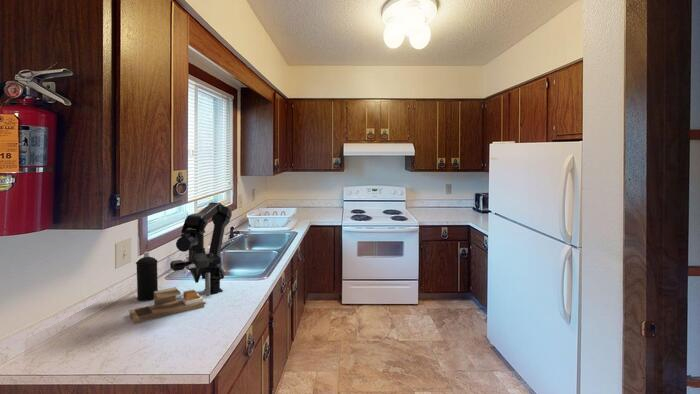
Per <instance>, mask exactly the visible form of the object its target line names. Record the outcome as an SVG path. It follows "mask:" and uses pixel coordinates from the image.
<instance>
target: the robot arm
mask: <svg viewBox="0 0 700 394" xmlns="http://www.w3.org/2000/svg"><path fill="white" fill-rule="evenodd" d="M232 213H233V212H232V211H231V210H230V208H229V207H227V206H225V205H223V204H222V203H221V202H217V201H216V202H214V201H213V202H212V201H211V202H209V203H208V205H207V206H206V207H204V208H202V209H201V210H200V211H199V212H195V213H192V214H191V213H190V214H188V215H187V216H186V218H185V219H184V222H183V226H182V229H181V231H180V233H181V234H180V237H178V238H177V240H176V243H175V246H176V248H177V250H178V251H180V252H184V253H186V252H188V257H187V260H188V261H183V260H182V259H178V260H177V259H176V260H172V261H170V263H169V265H170V267H169V268H170V269H171V270H172V271H174V272H178V271H184V269H187V270H188V271H189V272H190V274H191V275H192V278H193V280H194V283H195V284H197V283H199V281H200V278H201V279H202V280H205V273H210V295H212V294H217V293H221V292H223V291H224V289H222V288H221V280H223V279H225V273H226V272H225V271H224V269H223V268H222V265H223V263H222V257H221V256H220V255H221V251H222V246H223V245H222V244H223V241H224V240H223V239H224V233H225V229H226V227H227V225H229V223H230V221H231V218H232V216H233V214H232ZM210 219H211V221H212V223H213V231H212V233H211V234H212V235H211V241H210V245H209V251H208V253H206V250H205V248H204V247H205V244H204V242H205V241H204V240H205V239H204V237H205V236H204V235H205V233H206V230H205V229H206V227H207V225H208V221H209V220H210ZM203 291H204V292H205V288H204V289H203Z"/></svg>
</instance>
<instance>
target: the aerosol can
mask: <svg viewBox="0 0 700 394" xmlns="http://www.w3.org/2000/svg"><path fill="white" fill-rule="evenodd" d="M158 262H159V261H158V259H156V258H155V257H153V256H150V251H145V252H143V257H141V258H139V259H138V260H137V261H136V262H135V265H136V287H137V288H136V291H137V292H136V293H137V297H136V300H138V301H139V302H148V301H152V300H153V301H154V291H159V285H158Z"/></svg>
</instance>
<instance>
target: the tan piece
mask: <svg viewBox="0 0 700 394" xmlns="http://www.w3.org/2000/svg"><path fill="white" fill-rule="evenodd" d="M181 294H182V293H181V291H180V290H179V289H178V288H177V287H175V286H173V287H170V288H165V289H158V291H154V299H153V304H151V305H146V306H141V307H137V308H132V309H129V313H128V314H129V317H130V319H131V320H132V322H133V324H135V325H136V324H140V323H144V322H148V321H152V320H156V319H161V318H165V317H169V316H173V315H177V314H182V313H185V312H190V311H193V310H198V309H202V308H205V302H204V300H203V301H202V302H198V303H194V304H189V305H185V304H184V303H183V302H182V301H181V298H178V299H177V296H178V295H179V296H180V295H181ZM197 299H198V298H197Z"/></svg>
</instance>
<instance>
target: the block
mask: <svg viewBox="0 0 700 394" xmlns="http://www.w3.org/2000/svg"><path fill="white" fill-rule="evenodd" d="M197 293H198V292H197V291H196V290H195V289H189V290H185V291H183V296H184V299H185V300H186V301H190V300H194V299H197Z"/></svg>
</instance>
